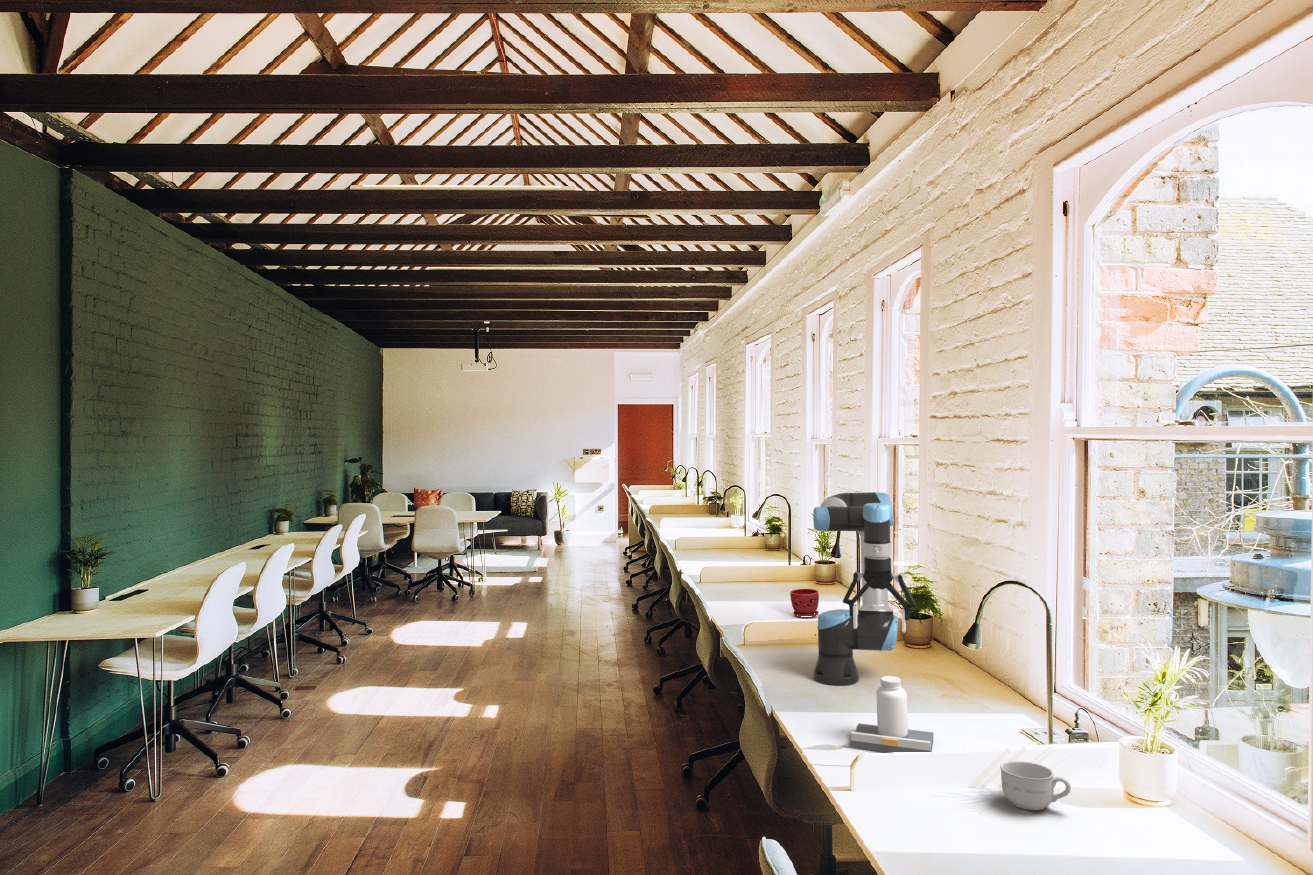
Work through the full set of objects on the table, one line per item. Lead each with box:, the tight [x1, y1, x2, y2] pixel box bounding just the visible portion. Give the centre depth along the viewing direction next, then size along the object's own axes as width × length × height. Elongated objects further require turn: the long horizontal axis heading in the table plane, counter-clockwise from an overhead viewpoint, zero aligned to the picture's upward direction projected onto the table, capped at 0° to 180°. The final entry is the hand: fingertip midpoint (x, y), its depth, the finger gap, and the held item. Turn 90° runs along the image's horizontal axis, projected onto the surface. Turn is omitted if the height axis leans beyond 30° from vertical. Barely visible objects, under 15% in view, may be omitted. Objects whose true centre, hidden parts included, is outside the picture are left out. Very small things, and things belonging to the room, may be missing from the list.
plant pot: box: [789, 588, 820, 619], centre depth 353 cm, size 13×13×12 cm
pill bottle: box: [876, 675, 909, 738], centre depth 205 cm, size 8×8×15 cm
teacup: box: [999, 760, 1072, 811], centre depth 167 cm, size 14×11×8 cm
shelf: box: [850, 722, 934, 753], centre depth 203 cm, size 14×20×4 cm
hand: (879, 629), depth 218 cm, fingers open, 13 cm apart
